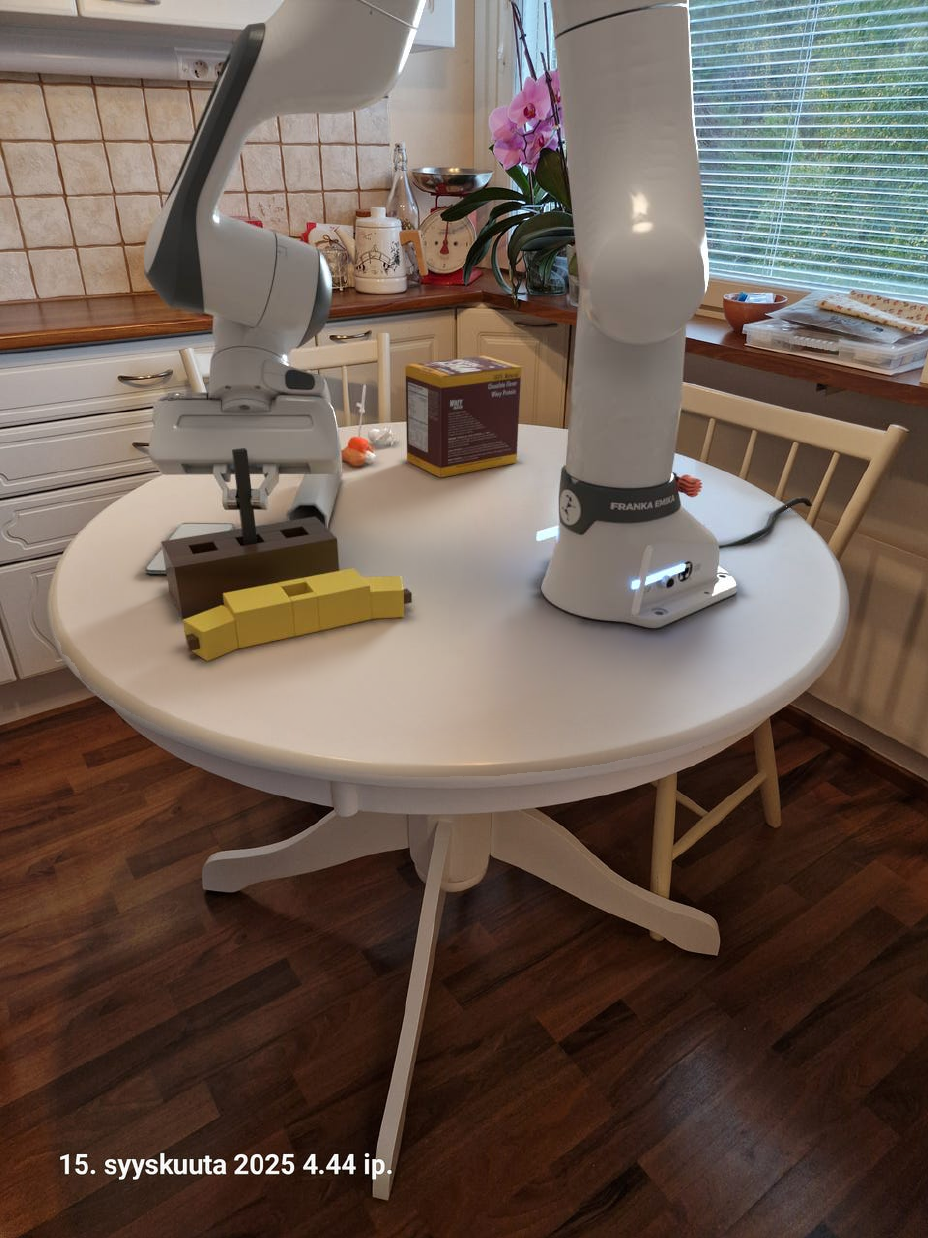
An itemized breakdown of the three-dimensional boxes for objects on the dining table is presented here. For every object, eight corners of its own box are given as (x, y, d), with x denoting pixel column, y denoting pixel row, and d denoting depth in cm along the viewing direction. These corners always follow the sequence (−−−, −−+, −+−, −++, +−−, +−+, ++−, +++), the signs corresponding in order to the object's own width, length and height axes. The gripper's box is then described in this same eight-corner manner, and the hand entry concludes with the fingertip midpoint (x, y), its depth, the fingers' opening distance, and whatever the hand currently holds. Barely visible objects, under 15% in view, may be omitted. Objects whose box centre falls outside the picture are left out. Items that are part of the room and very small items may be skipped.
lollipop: (381, 452, 139) (378, 380, 133) (373, 469, 130) (370, 393, 125) (345, 451, 139) (342, 379, 133) (335, 468, 131) (330, 392, 125)
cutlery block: (169, 591, 91) (160, 541, 88) (318, 563, 98) (315, 516, 96) (182, 619, 85) (173, 566, 83) (340, 587, 93) (337, 538, 90)
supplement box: (518, 462, 135) (523, 365, 127) (439, 478, 127) (440, 375, 120) (482, 447, 142) (484, 354, 135) (405, 461, 135) (404, 363, 127)
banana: (181, 637, 82) (175, 602, 80) (393, 592, 92) (393, 560, 90) (193, 664, 77) (187, 627, 76) (415, 614, 87) (415, 580, 85)
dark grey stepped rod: (262, 585, 93) (246, 447, 85) (264, 589, 92) (249, 449, 84) (246, 588, 92) (229, 449, 84) (248, 592, 91) (231, 451, 84)
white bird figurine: (369, 433, 146) (377, 408, 144) (393, 443, 147) (402, 419, 145) (361, 446, 139) (370, 420, 137) (387, 456, 140) (396, 431, 138)
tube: (304, 453, 124) (278, 509, 102) (337, 442, 124) (318, 496, 102) (318, 485, 127) (295, 547, 104) (350, 474, 126) (334, 534, 104)
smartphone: (235, 523, 107) (204, 571, 94) (235, 527, 108) (205, 575, 94) (181, 522, 107) (143, 570, 94) (182, 526, 108) (144, 574, 94)
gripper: (145, 376, 87) (134, 495, 83) (339, 377, 88) (338, 494, 84) (162, 408, 93) (153, 520, 89) (344, 408, 94) (343, 519, 90)
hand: (245, 507), depth 87 cm, fingers closed on dark grey stepped rod, 1 cm apart
